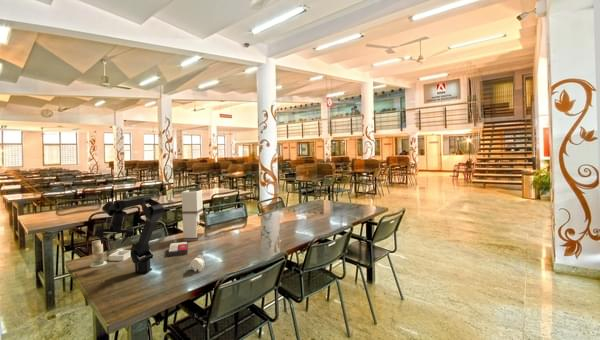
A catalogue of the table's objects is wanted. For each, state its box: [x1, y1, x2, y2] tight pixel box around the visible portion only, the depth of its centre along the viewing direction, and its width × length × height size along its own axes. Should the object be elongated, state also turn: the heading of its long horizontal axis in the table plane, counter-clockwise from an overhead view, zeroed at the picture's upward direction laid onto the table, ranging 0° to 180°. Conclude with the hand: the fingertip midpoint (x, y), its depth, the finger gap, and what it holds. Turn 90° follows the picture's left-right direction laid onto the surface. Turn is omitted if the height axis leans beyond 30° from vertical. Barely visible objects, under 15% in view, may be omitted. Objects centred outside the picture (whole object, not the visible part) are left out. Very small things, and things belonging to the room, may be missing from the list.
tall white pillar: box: [181, 189, 205, 242], centre depth 216 cm, size 11×11×35 cm
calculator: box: [167, 241, 189, 257], centre depth 189 cm, size 11×4×15 cm
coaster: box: [89, 260, 108, 268], centre depth 169 cm, size 8×8×1 cm
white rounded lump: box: [187, 254, 206, 273], centre depth 159 cm, size 8×10×7 cm
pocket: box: [108, 249, 131, 262], centre depth 179 cm, size 9×9×3 cm
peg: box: [91, 239, 105, 265], centre depth 168 cm, size 5×5×13 cm
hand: (111, 244), depth 167 cm, fingers open, 9 cm apart
